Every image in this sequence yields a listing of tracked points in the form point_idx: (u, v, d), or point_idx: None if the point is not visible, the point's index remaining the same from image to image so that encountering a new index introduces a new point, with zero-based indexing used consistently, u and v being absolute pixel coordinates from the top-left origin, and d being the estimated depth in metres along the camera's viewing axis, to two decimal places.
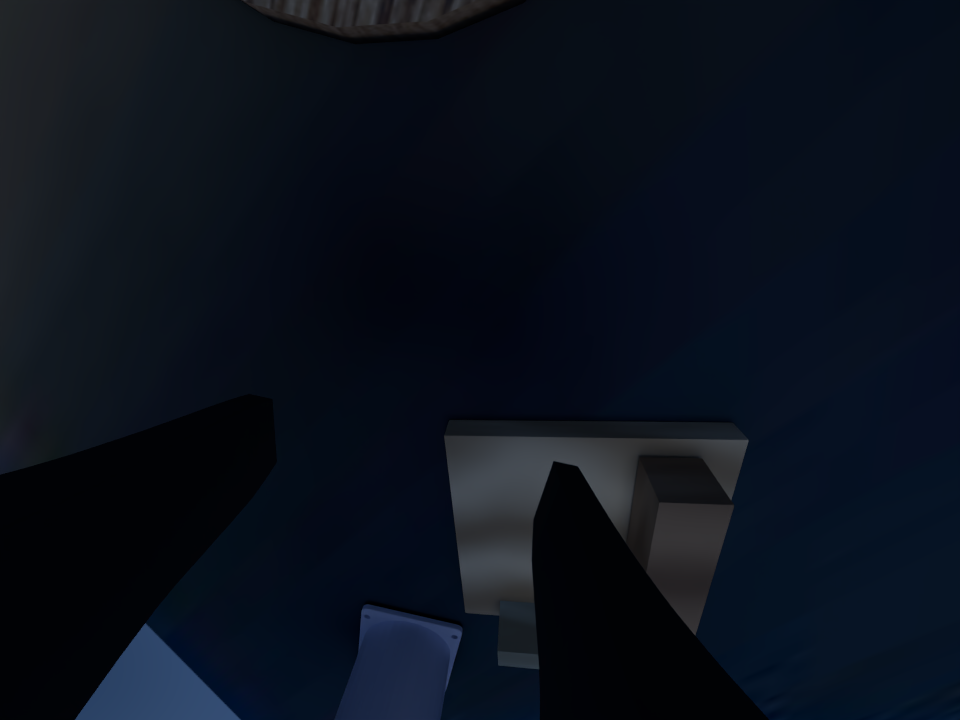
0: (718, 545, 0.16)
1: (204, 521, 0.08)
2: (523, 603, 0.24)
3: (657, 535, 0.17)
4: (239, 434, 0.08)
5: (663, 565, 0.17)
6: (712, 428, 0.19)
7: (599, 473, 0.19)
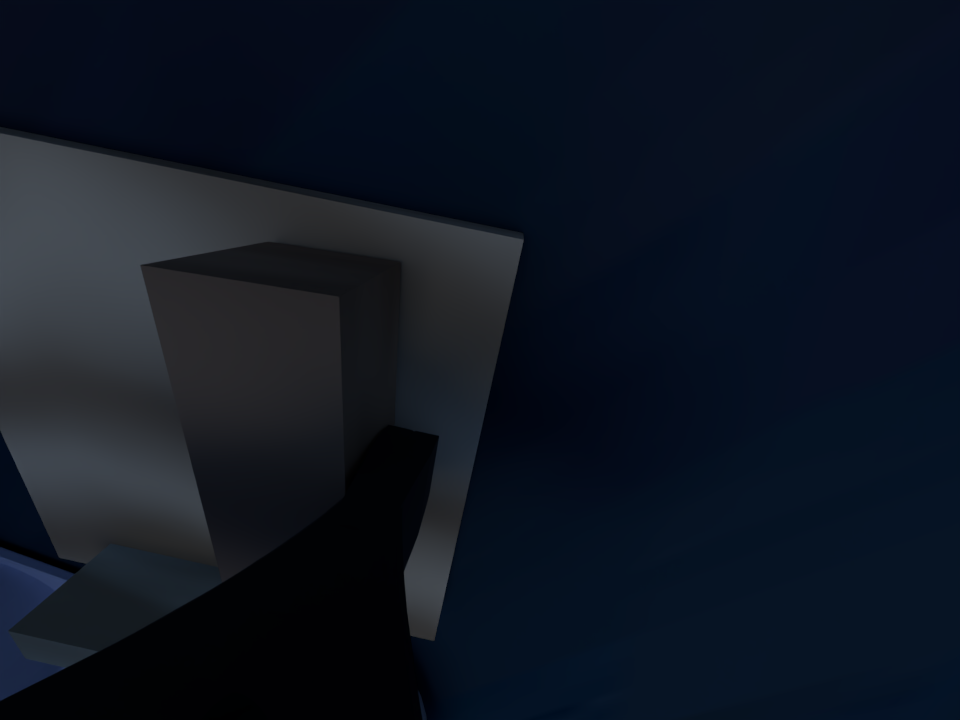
0: (335, 433, 0.06)
1: None
2: (147, 554, 0.13)
3: (178, 384, 0.06)
4: (426, 475, 0.08)
5: (228, 476, 0.07)
6: (472, 224, 0.09)
7: None
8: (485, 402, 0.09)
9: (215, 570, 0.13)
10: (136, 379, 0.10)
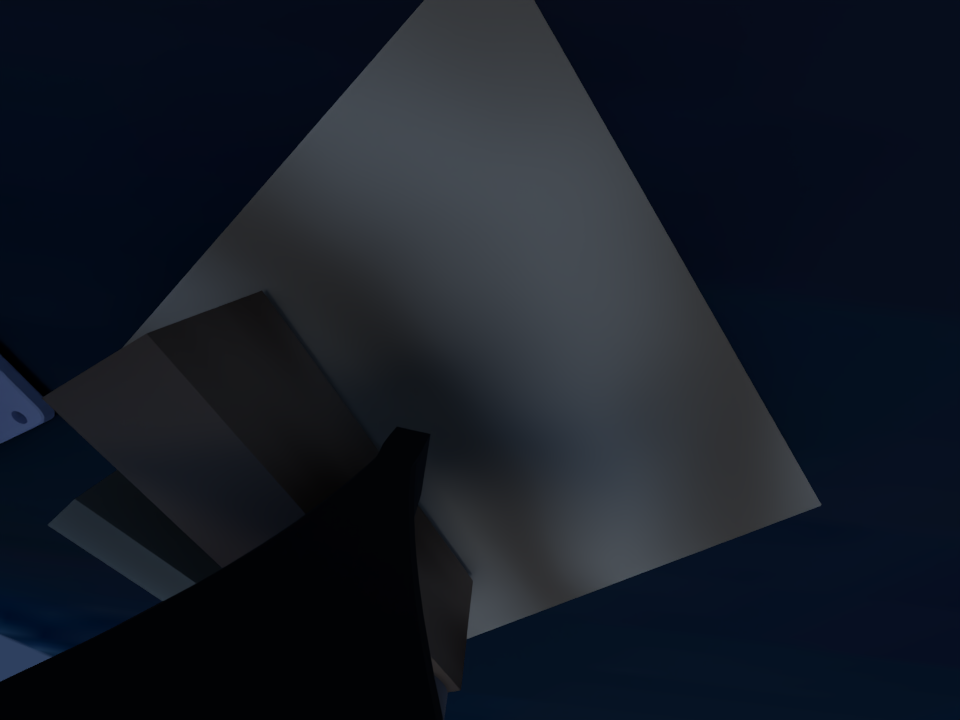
0: (239, 447, 0.07)
1: None
2: None
3: (128, 473, 0.07)
4: (416, 473, 0.08)
5: (212, 530, 0.08)
6: None
7: (618, 366, 0.09)
8: (678, 558, 0.11)
9: None
10: (436, 352, 0.09)
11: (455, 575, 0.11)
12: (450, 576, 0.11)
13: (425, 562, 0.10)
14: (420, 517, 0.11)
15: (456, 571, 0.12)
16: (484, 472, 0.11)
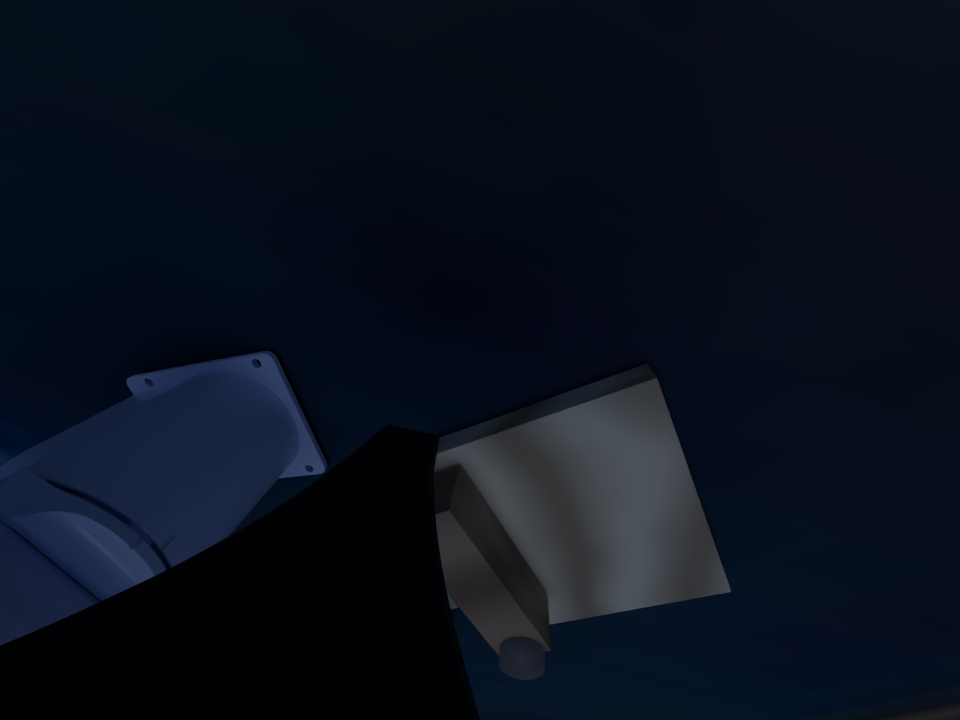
0: (472, 546, 0.17)
1: None
2: None
3: None
4: None
5: (449, 576, 0.18)
6: None
7: (656, 519, 0.19)
8: (658, 604, 0.22)
9: None
10: (574, 496, 0.19)
11: (540, 592, 0.22)
12: (538, 593, 0.21)
13: (529, 587, 0.21)
14: (523, 563, 0.21)
15: (540, 591, 0.22)
16: (575, 549, 0.21)
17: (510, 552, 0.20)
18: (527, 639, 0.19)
